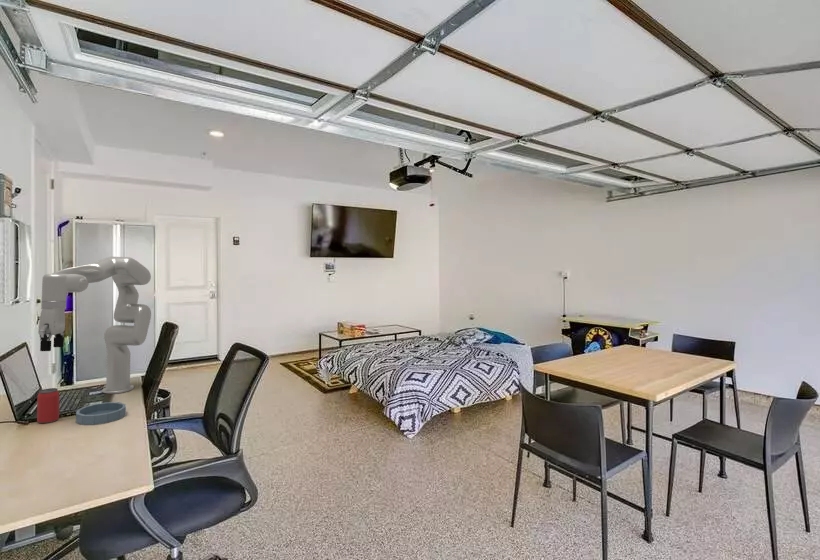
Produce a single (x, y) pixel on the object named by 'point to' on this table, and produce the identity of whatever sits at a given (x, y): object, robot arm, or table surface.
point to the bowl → (100, 413)
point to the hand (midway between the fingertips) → (52, 349)
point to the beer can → (48, 405)
